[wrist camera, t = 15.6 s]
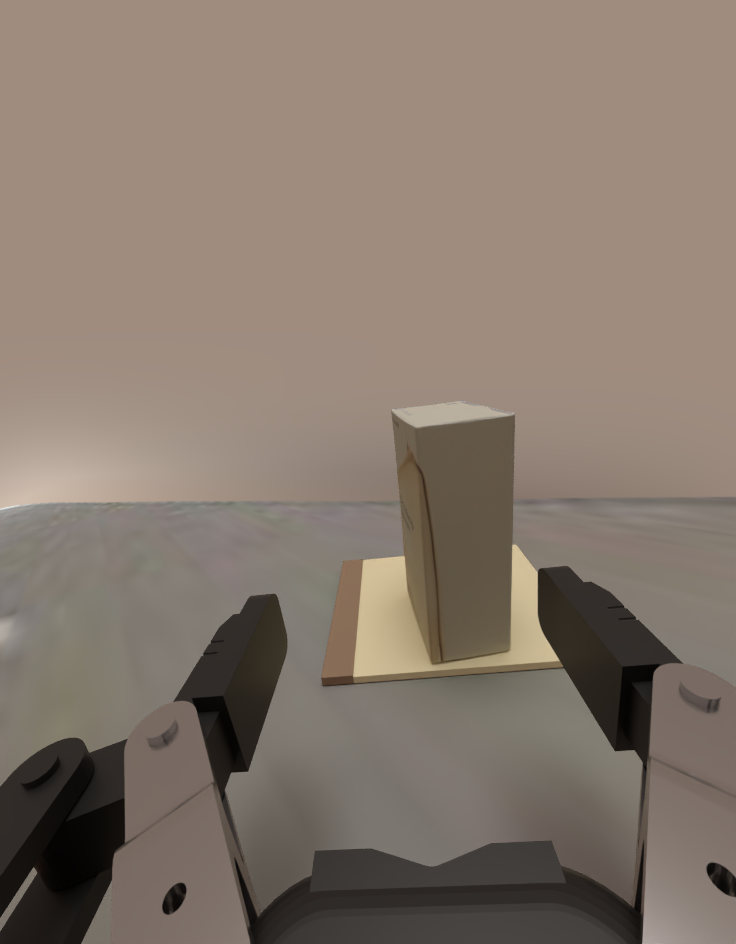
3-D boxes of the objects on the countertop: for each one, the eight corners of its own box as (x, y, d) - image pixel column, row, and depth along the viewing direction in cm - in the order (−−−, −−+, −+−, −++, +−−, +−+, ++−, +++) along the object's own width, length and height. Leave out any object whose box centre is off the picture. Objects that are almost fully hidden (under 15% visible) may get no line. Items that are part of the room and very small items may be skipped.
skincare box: (406, 592, 23) (386, 409, 20) (471, 581, 23) (462, 398, 20) (432, 669, 17) (409, 425, 14) (519, 653, 17) (518, 409, 14)
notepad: (516, 549, 27) (515, 543, 27) (602, 664, 17) (602, 655, 17) (344, 566, 28) (343, 561, 28) (322, 685, 18) (321, 677, 17)
